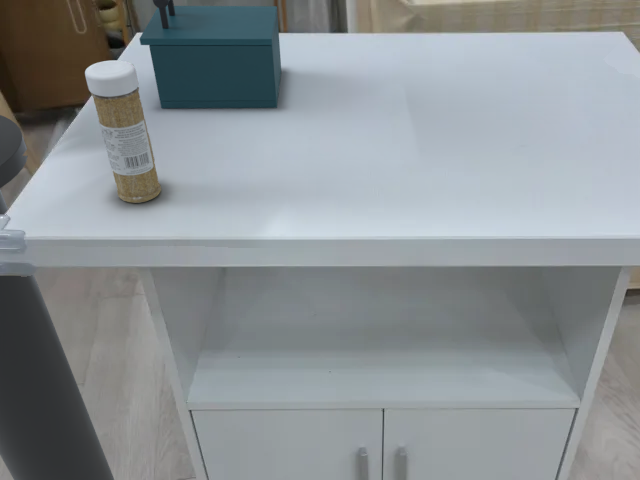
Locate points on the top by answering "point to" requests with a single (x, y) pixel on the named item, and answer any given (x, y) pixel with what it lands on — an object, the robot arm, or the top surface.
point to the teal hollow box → (218, 75)
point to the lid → (210, 25)
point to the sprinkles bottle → (124, 129)
